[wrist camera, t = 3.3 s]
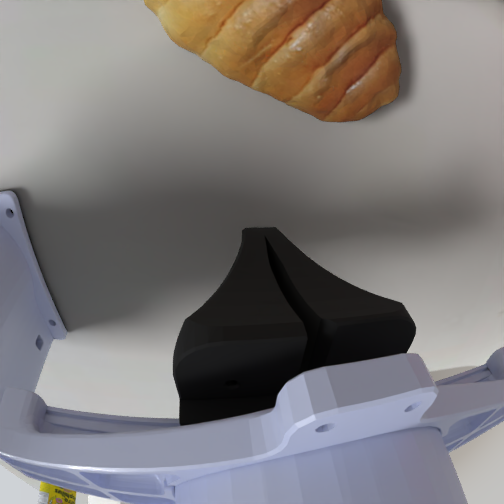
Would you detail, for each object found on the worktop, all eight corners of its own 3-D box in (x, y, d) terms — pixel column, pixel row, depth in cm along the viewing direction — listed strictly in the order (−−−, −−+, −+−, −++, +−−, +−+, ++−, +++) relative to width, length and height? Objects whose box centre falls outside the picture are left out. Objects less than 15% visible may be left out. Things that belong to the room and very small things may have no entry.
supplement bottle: (85, 480, 37) (81, 540, 27) (62, 477, 38) (57, 533, 27) (58, 466, 34) (51, 532, 23) (36, 463, 34) (28, 523, 24)
